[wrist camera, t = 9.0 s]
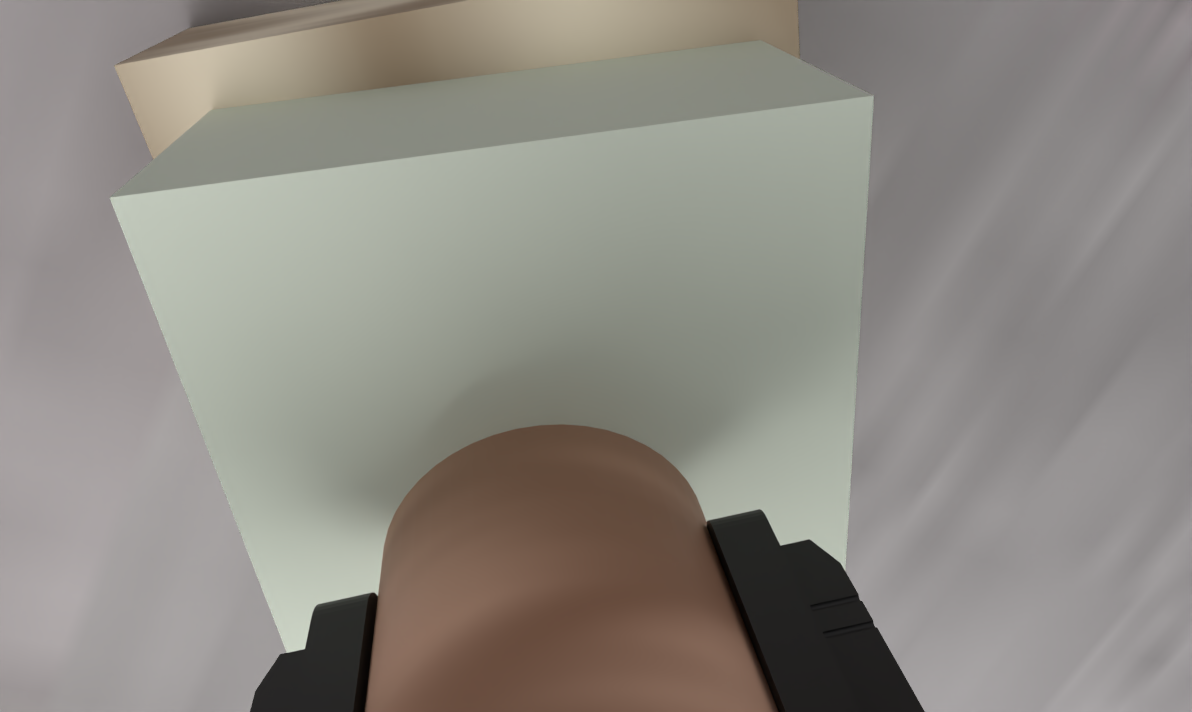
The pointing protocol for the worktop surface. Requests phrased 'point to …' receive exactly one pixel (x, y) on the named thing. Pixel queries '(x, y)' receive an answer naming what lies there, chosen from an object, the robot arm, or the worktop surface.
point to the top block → (513, 290)
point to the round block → (557, 586)
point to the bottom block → (417, 48)
